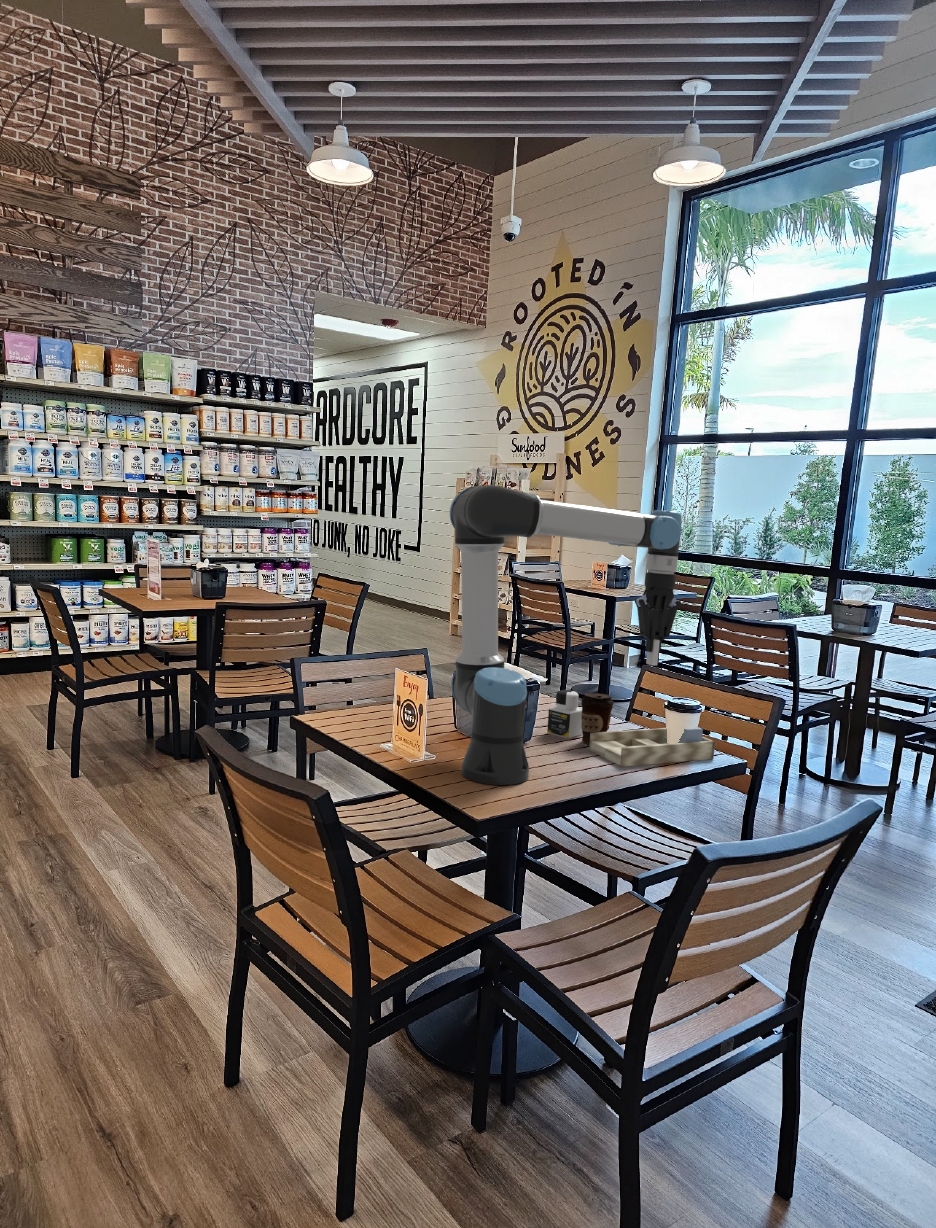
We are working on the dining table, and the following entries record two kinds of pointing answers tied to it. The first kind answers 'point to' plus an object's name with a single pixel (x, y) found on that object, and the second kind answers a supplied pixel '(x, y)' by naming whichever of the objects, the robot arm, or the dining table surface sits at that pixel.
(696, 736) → the slate block
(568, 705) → the medicine bottle
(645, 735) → the serving tray
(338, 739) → the dining table surface
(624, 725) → the dining table surface
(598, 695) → the coffee cup
